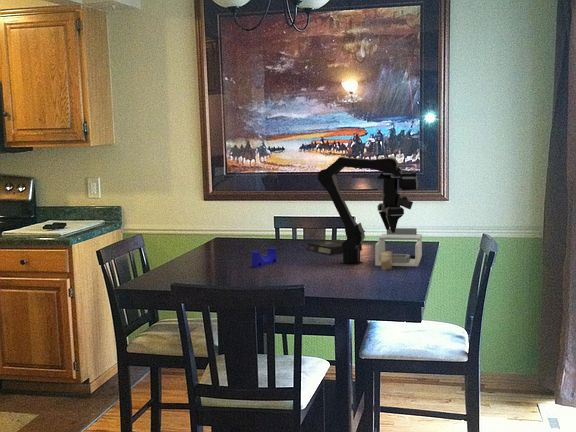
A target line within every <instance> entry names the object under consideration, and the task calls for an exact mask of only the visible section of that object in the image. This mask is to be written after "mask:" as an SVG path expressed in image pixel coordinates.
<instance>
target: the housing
mask: <svg viewBox="0 0 576 432" xmlns="http://www.w3.org/2000/svg"><path fill="white" fill-rule="evenodd" d="M422 237H423V236H421V239H420V240H416V243H415V245H414V246H415V247H414V256H415V257H414V258H411V255H410V254H409V253H408V254H407V253H392V267H419V265H420V262H421V260H422V256H423V254H422V252H423V249H422V248H423V247H422V246H423V241H422V240H423V238H422ZM374 248H375V249H374V252H375V253H374V254H375V255H374V257H375V258H374V259H375V261H374V262H375V263H374V265H375V266H376V267H377V266H380V267H381V251H386V240H379V239H378V241H377V242H376V244H374Z"/></svg>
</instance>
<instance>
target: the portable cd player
mask: <svg viewBox="0 0 576 432" xmlns="http://www.w3.org/2000/svg"><path fill="white" fill-rule="evenodd" d="M345 241H346V240H344V239H332V240H325V241H324V240H323V241H316V242H315V241H314V242H309V243H308V245H307V250H308V251H310V252H311V251H312V252H315V251H316V252H315V253H319V252H320V254H323V253H324V255H327V254H328V256H333V255H334V254H336V255H343V247H342V243H343V242H345ZM359 247H360V252H362V249H363V248H362V247H363V244H362V242H361V243H360V245H359Z"/></svg>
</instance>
